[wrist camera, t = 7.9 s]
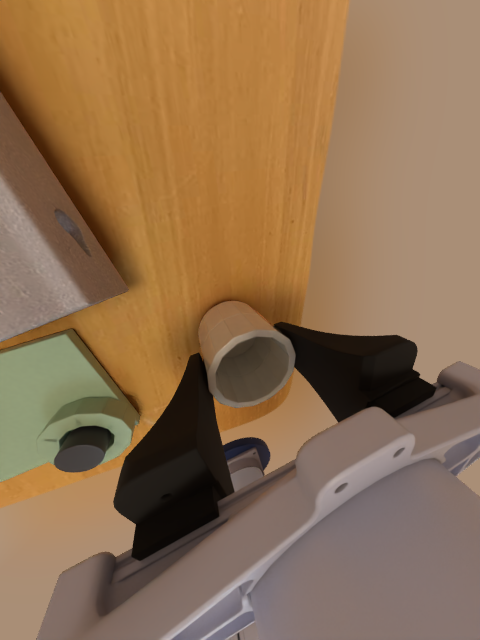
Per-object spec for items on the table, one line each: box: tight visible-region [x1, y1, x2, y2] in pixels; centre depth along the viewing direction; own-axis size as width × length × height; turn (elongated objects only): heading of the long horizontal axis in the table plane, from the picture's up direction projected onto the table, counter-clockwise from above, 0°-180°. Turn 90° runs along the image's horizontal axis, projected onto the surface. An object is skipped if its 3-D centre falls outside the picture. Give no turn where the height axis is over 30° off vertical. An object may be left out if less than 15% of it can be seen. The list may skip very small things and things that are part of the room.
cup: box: [198, 301, 296, 408], centre depth 13 cm, size 6×6×6 cm
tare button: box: [54, 425, 111, 472], centre depth 13 cm, size 3×3×2 cm
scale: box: [0, 329, 140, 482], centre depth 12 cm, size 11×13×2 cm
